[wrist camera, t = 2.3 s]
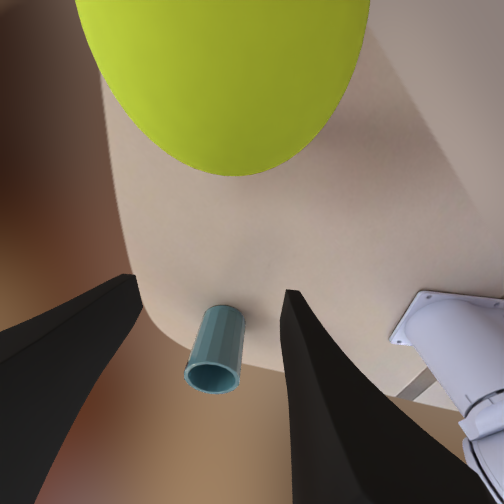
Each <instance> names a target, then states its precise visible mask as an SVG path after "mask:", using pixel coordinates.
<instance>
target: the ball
mask: <svg viewBox="0 0 504 504" xmlns="http://www.w3.org/2000/svg"><path fill="white" fill-rule="evenodd" d="M75 2H76V6H77V9H78V13H79V17H80V21H81V24H82V27H83V30H84V33H85V36H86V38H87V41H88V44H89V47H90V49H91V51H92V54H93V56H94V58H95V60H96V63H97V65H98V67H99V69H100V71H101V73H102V75H103V76H104V78H105V80H106V82H107V84H108V85H109V87H110V89H111V91H112V92H113V94H114V96H115V97H116V99H117V100H118V102H119V103H120V105H121V106H122V107H123V109H124V110H125V112H126V113H127V114H128V116H129V117H130V118H131V119H132V121H133V122H134V123H135V124H136V125H137V127H138V128H139V129H140V130H141V131H142V132H143V133H144V134H145V135H146V136H147V137H148V138H149V139H150V140H151V141H153V142H154V143H155V144H156V145H157V146H159V147H160V148H161V149H162V150H164V151H165V152H166V153H167V154H169V155H171V156H172V157H174V158H175V159H177V160H179V161H180V162H182V163H184V164H186V165H188V166H190V167H193V168H195V169H198V170H201V171H204V172H207V173H211V174H217V175H222V176H245V175H252V174H256V173H260V172H264V171H266V170H269V169H272V168H274V167H276V166H278V165H280V164H282V163H284V162H285V161H287V160H289V159H290V158H292V157H293V156H294V155H296V154H297V153H299V152H300V151H301V150H302V149H303V148H304V147H305V146H306V145H308V144H309V143H310V142H311V141H312V140H313V139H314V137H315V136H316V135H317V134H318V133H319V132H320V130H321V129H322V128H323V127H324V125H325V124H326V122H327V121H328V120H329V118H330V117H331V115H332V114H333V112H334V111H335V109H336V107H337V105H338V104H339V102H340V100H341V98H342V96H343V94H344V92H345V91H346V88H347V86H348V84H349V81H350V79H351V77H352V74H353V72H354V69H355V66H356V63H357V60H358V57H359V53H360V50H361V47H362V43H363V38H364V34H365V29H366V24H367V19H368V13H369V6H370V0H75Z"/></svg>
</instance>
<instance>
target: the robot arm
mask: <svg viewBox="0 0 504 504" xmlns="http://www.w3.org/2000/svg"><path fill="white" fill-rule="evenodd" d="M142 308H143V305H142V301H141V296H140V292H139V288H138V284H137V280H136V275H131V274H121V275H119V276H117V277H115V278H112V279H111V280H108V281H106V282H104V283H103V284H101V285H99V286H97V287H95V288H93V289H91V290H89V291H87V292H85V293H83V294H81V295H79V296H77V297H75V298H73V299H71V300H70V301H68V302H65V303H63V304H61V305H59V306H57V307H55V308H53V309H51V310H49V311H47V312H45V313H43V314H41V315H38V316H36V317H34V318H32V319H29V320H27V321H25V322H23V323H20V324H18V325H16V326H13V327H11V328H8V329H6V330H3V331H1V332H0V504H34V503H35V500H36V498H37V496H38V494H39V491H40V489H41V487H42V485H43V483H44V481H45V479H46V476H47V474H48V472H49V470H50V468H51V466H52V463H53V462H54V460H55V458H56V456H57V454H58V451H59V450H60V448H61V445H62V444H63V442H64V440H65V438H66V436H67V434H68V432H69V430H70V428H71V426H72V424H73V422H74V420H75V419H76V417H77V415H78V413H79V411H80V409H81V407H82V406H83V404H84V402H85V400H86V398H87V397H88V395H89V393H90V391H91V390H92V388H93V386H94V384H95V382H96V381H97V379H98V378H99V376H100V375H101V373H102V371H103V370H104V369H105V367H106V366H107V364H108V363H109V361H110V360H111V358H112V357H113V356H114V354H115V353H116V351H117V350H118V348H119V347H120V345H121V344H122V342H123V341H124V339H125V338H126V337H127V335H128V334H129V332H130V331H131V329H132V327H133V326H134V324H135V322H136V320H137V318H138V316H139V314H140V312H141V310H142ZM280 341H281V349H282V356H283V363H284V371H285V378H286V385H287V392H288V402H289V418H290V419H289V420H290V439H291V464H292V492H293V493H292V494H293V504H504V299H495V298H486V297H477V296H468V295H459V294H450V293H441V292H432V291H420V292H419V293H418V294H417V295H416V297H415V299H414V300H413V302H412V303H411V305H410V307H409V308H408V310H407V311H406V313H405V314H404V316H403V318H402V319H401V321H400V322H399V324H398V326H397V327H396V329H395V330H394V332H393V333H392V335H391V337H390V338H389V341H390V342H391V343H392V344H399V345H408V346H413V347H414V348H415V349H416V351H417V352H418V354H419V355H420V356H421V358H422V359H423V361H424V362H425V363H426V365H427V366H428V368H429V369H430V371H431V372H432V373H433V375H434V376H435V378H436V379H437V380H438V382H439V383H440V385H441V386H442V387H443V389H444V390H445V392H446V393H447V394H448V396H449V397H450V399H451V400H452V402H453V403H454V404H455V406H456V407H457V409H458V410H459V411H460V413H461V414H462V416H463V417H464V418H465V419H463V420H462V421H460V422H459V425H460V426H461V428H462V430H463V431H464V432H465V434H466V435H467V437H465V438H464V440H463V450H464V454H465V459H466V463H467V465H466V464H465V463H464V462H462V461H461V460H460V459H459V458H458V457H456V456H455V455H454V454H452V453H451V452H450V451H449V450H448V449H446V448H445V447H444V446H443V445H442V444H440V443H439V442H438V441H437V440H435V439H434V438H433V437H431V436H430V435H429V434H428V433H427V432H426V431H424V430H423V429H422V428H421V427H420V426H419V425H417V424H416V423H415V422H414V421H413V420H412V419H411V418H409V417H408V416H407V415H406V414H405V413H404V412H403V411H401V410H400V409H399V408H398V407H397V406H396V405H395V404H394V403H393V402H392V401H390V400H389V399H388V398H387V397H386V396H385V395H384V394H383V393H382V392H381V391H380V390H379V389H378V388H377V387H376V386H375V385H374V384H373V383H372V382H371V381H370V380H369V379H368V378H367V377H366V376H365V375H364V374H363V373H362V372H361V371H360V370H359V369H358V368H357V367H356V366H355V365H354V364H353V362H352V361H351V360H350V359H349V358H348V357H347V356H346V355H345V353H344V352H343V351H342V350H341V349H340V347H339V346H338V345H337V344H336V343H335V341H334V340H333V339H332V338H331V336H330V335H329V334H328V332H327V331H326V330H325V328H324V327H323V325H322V324H321V323H320V321H319V320H318V319H317V317H316V316H315V314H314V313H313V311H312V310H311V308H310V307H309V305H308V304H307V302H306V300H305V299H304V297H303V296H302V294H301V292H300V291H298V290H287V289H286V292H285V297H284V302H283V307H282V312H281V317H280Z"/></svg>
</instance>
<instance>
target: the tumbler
mask: <svg viewBox="0 0 504 504" xmlns="http://www.w3.org/2000/svg"><path fill="white" fill-rule="evenodd" d="M244 332H245V318H244V316H243V315H242V313H241V312H240V311H238V310H237V309H235V308H233V307H230V306H225V305H219V306H214V307H211V308H209V309H208V310H207V311H206V312H205V314H204V316H203V318H202V321H201V324H200V326H199V329H198V332H197V335H196V338H195V341H194V344H193V347H192V350H191V353H190V356H189V359H188V362H187V365H186V367H185V370H184V379H185V380H186V382H187V383H188V384H189V385H190V386H191V387H193V388H195V389H196V390H199V391H201V392H204V393H210V394H223V393H228V392H231V391H233V390H234V389H236V388H237V386H238V385H239V380H240V370H241V362H242V352H243V342H244Z"/></svg>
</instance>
